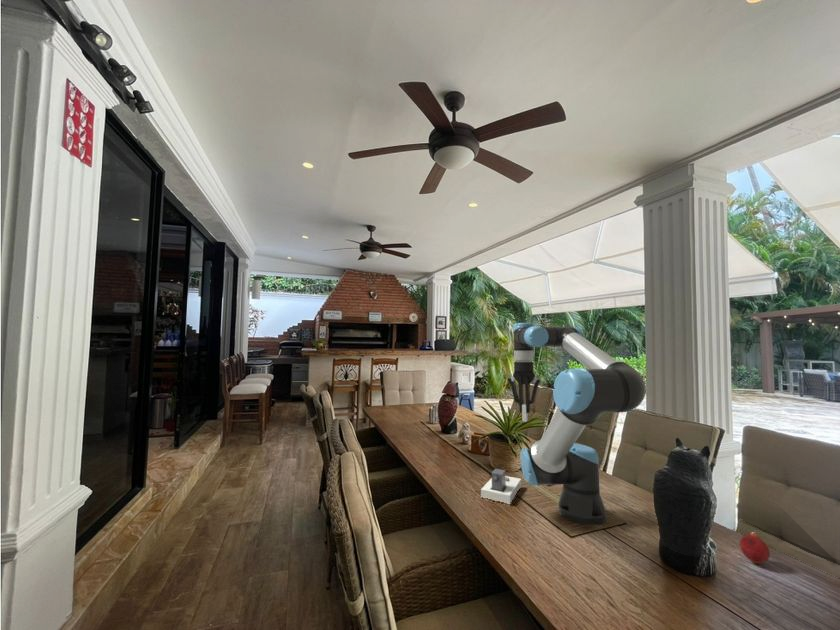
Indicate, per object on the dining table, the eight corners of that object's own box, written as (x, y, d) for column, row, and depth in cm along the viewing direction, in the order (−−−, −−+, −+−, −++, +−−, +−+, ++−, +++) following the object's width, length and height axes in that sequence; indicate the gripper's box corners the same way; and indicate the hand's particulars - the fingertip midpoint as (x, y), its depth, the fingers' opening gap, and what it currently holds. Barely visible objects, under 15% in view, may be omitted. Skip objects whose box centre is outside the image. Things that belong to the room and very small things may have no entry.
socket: (521, 487, 142) (521, 476, 142) (509, 505, 126) (509, 493, 127) (495, 482, 147) (494, 472, 148) (481, 499, 132) (480, 487, 132)
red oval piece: (761, 572, 90) (758, 539, 90) (735, 558, 95) (733, 528, 96) (776, 568, 91) (773, 536, 92) (750, 555, 97) (747, 525, 97)
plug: (505, 494, 135) (505, 470, 135) (501, 501, 129) (500, 476, 130) (495, 492, 137) (495, 468, 137) (490, 498, 131) (490, 474, 131)
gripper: (542, 361, 139) (543, 420, 138) (509, 360, 146) (511, 417, 144) (538, 362, 133) (540, 424, 131) (505, 361, 139) (506, 421, 137)
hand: (525, 420), depth 137 cm, fingers closed
